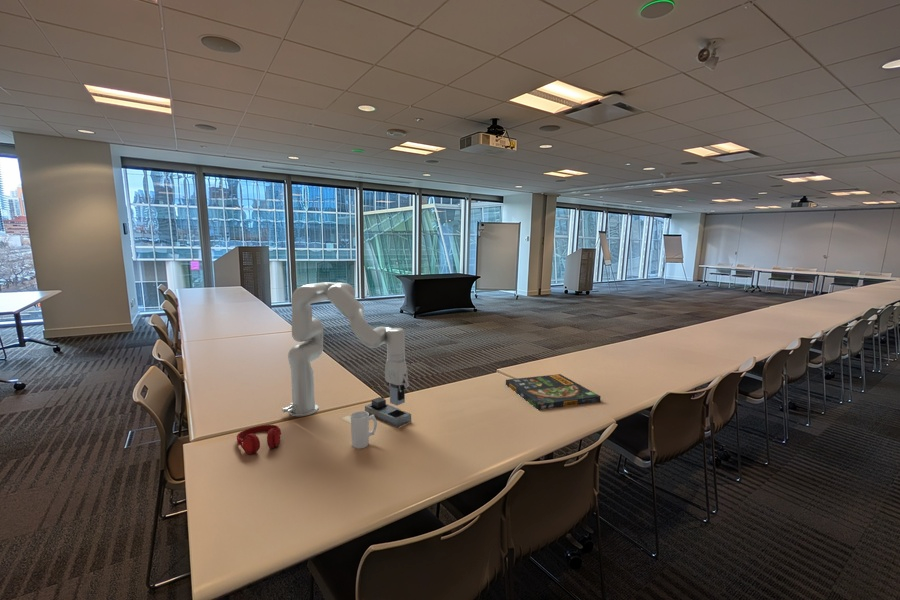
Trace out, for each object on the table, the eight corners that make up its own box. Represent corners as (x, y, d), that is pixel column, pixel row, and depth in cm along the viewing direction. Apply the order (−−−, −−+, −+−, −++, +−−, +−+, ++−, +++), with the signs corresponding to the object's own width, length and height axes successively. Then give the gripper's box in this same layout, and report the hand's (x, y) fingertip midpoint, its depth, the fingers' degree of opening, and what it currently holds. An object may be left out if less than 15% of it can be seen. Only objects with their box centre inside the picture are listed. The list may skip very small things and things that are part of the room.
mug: (353, 450, 140) (353, 420, 139) (349, 442, 146) (348, 413, 145) (379, 444, 145) (379, 414, 144) (374, 436, 151) (374, 408, 150)
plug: (397, 405, 161) (396, 385, 159) (390, 402, 163) (389, 382, 162) (404, 402, 164) (404, 382, 163) (397, 399, 167) (397, 380, 166)
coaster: (354, 426, 160) (354, 425, 160) (340, 419, 166) (340, 418, 166) (372, 418, 167) (372, 417, 167) (359, 412, 174) (359, 411, 174)
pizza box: (505, 385, 211) (505, 379, 211) (559, 380, 222) (560, 374, 221) (538, 411, 178) (538, 404, 178) (600, 403, 188) (600, 396, 188)
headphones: (286, 447, 142) (275, 433, 158) (284, 428, 142) (274, 416, 158) (241, 459, 133) (235, 443, 150) (240, 439, 133) (233, 425, 150)
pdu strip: (397, 428, 159) (397, 413, 158) (364, 413, 173) (364, 399, 172) (411, 421, 165) (411, 407, 164) (378, 407, 179) (378, 394, 178)
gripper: (376, 355, 164) (377, 396, 166) (403, 362, 153) (404, 405, 155) (389, 352, 169) (390, 391, 172) (416, 358, 159) (417, 400, 161)
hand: (397, 397), depth 163 cm, fingers closed on plug, 4 cm apart
